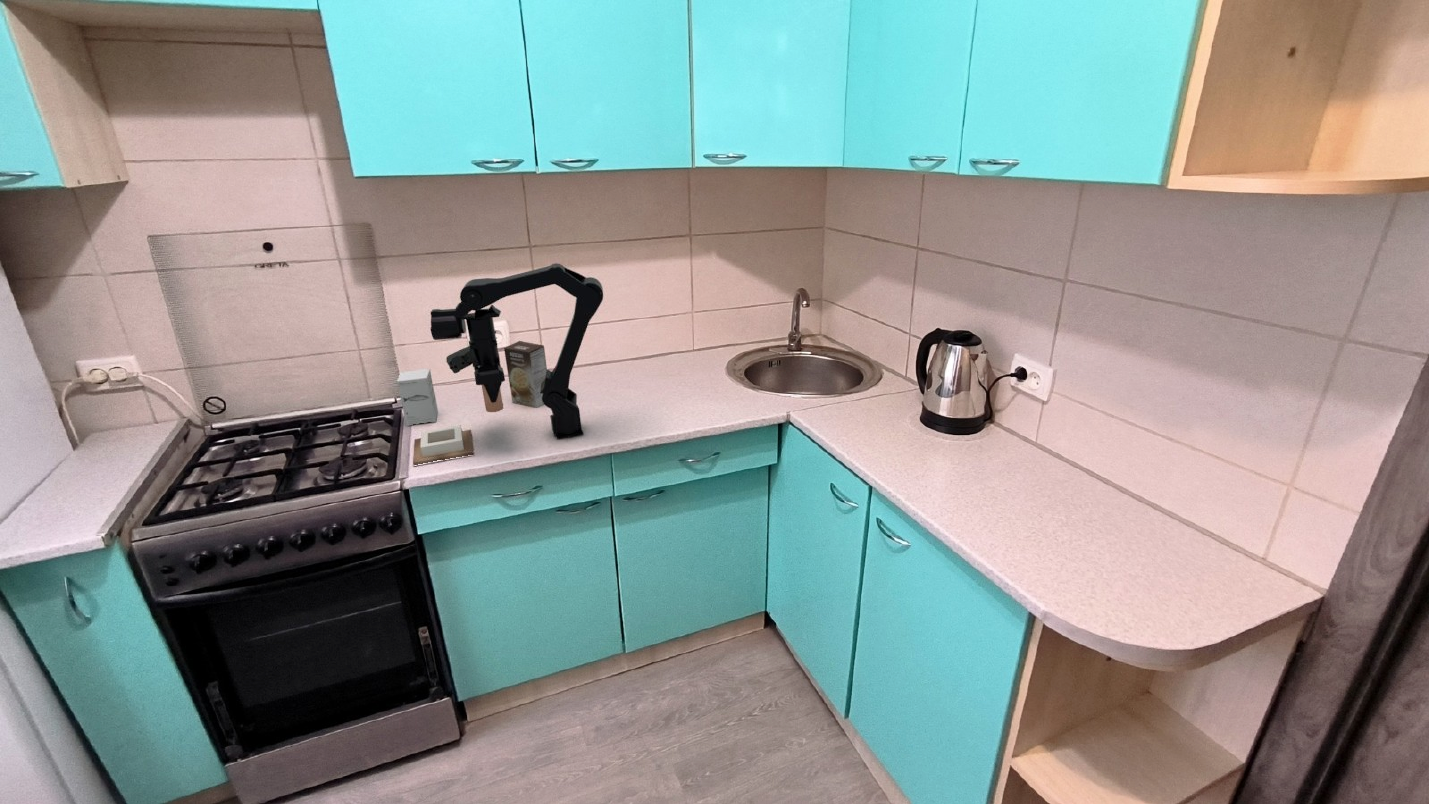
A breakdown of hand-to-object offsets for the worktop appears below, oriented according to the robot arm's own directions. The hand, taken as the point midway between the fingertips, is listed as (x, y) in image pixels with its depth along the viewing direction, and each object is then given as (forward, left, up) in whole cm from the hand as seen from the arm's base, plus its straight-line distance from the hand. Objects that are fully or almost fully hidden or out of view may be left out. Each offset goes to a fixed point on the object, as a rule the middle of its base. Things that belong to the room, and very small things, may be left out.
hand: (493, 398), depth 160 cm
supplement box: (+18, -21, -11) cm, 30 cm away
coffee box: (-10, -21, -11) cm, 26 cm away
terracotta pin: (0, 0, -3) cm, 3 cm away
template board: (+13, 0, -11) cm, 17 cm away
